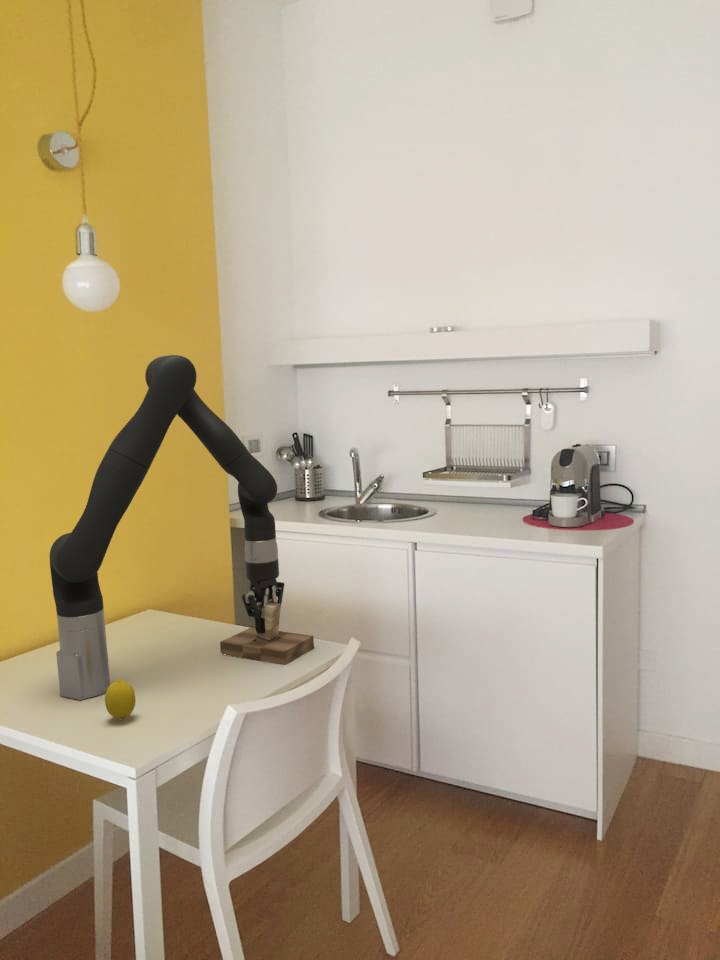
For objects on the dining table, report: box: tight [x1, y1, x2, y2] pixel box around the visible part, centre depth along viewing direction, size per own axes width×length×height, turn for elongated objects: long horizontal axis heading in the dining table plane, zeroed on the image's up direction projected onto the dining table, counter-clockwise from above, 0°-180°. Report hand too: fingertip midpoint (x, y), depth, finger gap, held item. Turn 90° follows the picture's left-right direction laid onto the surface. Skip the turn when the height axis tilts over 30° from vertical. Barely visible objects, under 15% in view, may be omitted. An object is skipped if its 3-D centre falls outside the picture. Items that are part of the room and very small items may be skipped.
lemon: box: [104, 679, 136, 721], centre depth 157 cm, size 6×6×8 cm
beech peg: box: [256, 600, 282, 643], centre depth 191 cm, size 4×4×11 cm
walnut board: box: [219, 626, 315, 666], centre depth 192 cm, size 12×18×3 cm, turn 61°
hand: (266, 630), depth 192 cm, fingers closed on beech peg, 3 cm apart
